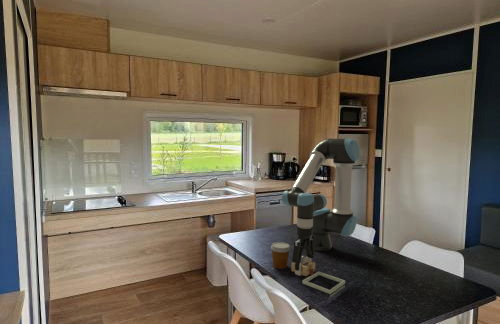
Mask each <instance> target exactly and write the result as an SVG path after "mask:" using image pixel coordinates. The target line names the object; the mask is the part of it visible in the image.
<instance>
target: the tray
mask: <svg viewBox="0 0 500 324" xmlns="http://www.w3.org/2000/svg"><path fill="white" fill-rule="evenodd" d="M318 276H321V277H323V278H326V279H329V280H332V281H334V282H337V283H338V284H336V285H334V286H333V287H331V288H330V289H328V288H326V287H323V286H321V285H318V284H315V283H313V282H310V281H312V280H313V279H314V278H317V277H318ZM301 282H302V283H301V284H303V285H305V286H308V287H311V288H313V289H316V290H319V291H321V292H323V293H326V294H329V296H328V298H332V297H333V296H334V295H336V294H337V293H339V292H340V291H341V290H343V289H344V288H346V280H345V279H342V278H340V277H335V276H333V275H331V274H327V273H324V272H321V271H316V272H315V273H314V274H312V275H311V274H310V275H308V277H306V278H304V279H302V281H301Z"/></svg>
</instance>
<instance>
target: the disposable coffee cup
mask: <svg viewBox="0 0 500 324" xmlns="http://www.w3.org/2000/svg"><path fill="white" fill-rule="evenodd" d="M270 249H271V254H272V265H273V267H274V269H275V268H276V269H280V270H283V269H286V268H287V266H288V260H289V253H290V250H291V247H290V244H289V243H286V242H282V241H277V242H273V243H272V244H271V246H270Z"/></svg>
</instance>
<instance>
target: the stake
mask: <svg viewBox="0 0 500 324" xmlns="http://www.w3.org/2000/svg"><path fill="white" fill-rule="evenodd" d="M306 257H307V255H302V258H301V264H302V265H306Z"/></svg>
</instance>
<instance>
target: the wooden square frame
mask: <svg viewBox="0 0 500 324" xmlns="http://www.w3.org/2000/svg"><path fill="white" fill-rule="evenodd" d="M300 263H301V261H300ZM290 267H291V268H290V270H291V272H294V273H295V263H293V262H292V261H291V266H290ZM315 271H316V262H315V261H312V260H311V261H308V260H306V265H302V264H301V276H304V277H307V276H311V275H313V274H315V273H314V272H315Z"/></svg>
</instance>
